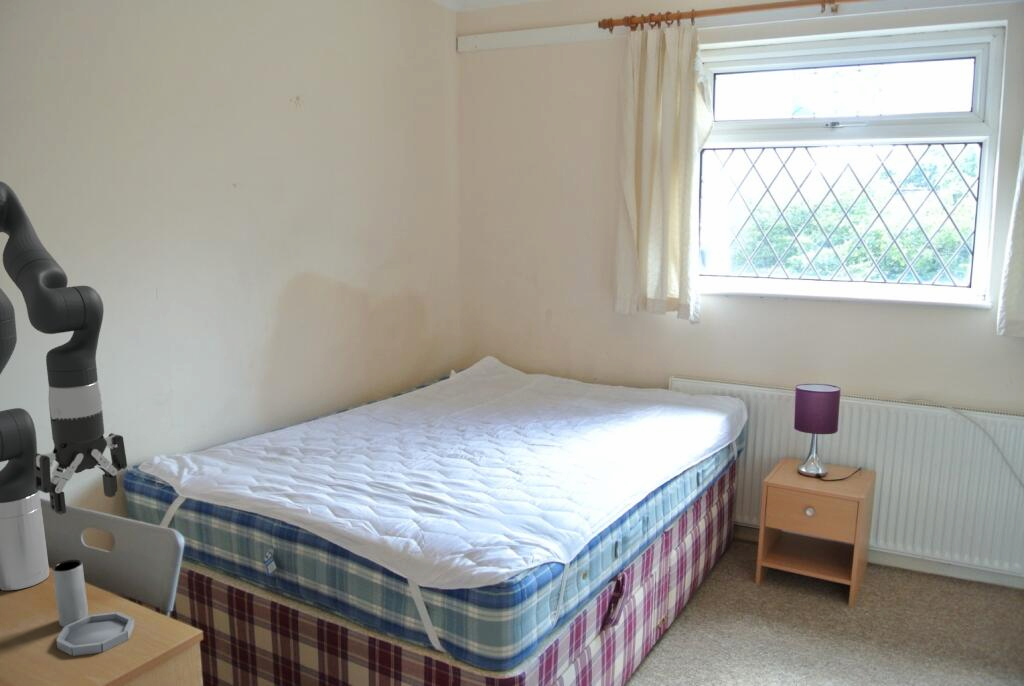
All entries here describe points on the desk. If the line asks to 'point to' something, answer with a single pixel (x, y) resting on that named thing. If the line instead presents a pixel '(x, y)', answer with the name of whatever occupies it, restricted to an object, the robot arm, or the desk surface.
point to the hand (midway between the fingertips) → (85, 504)
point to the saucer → (95, 633)
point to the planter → (70, 591)
